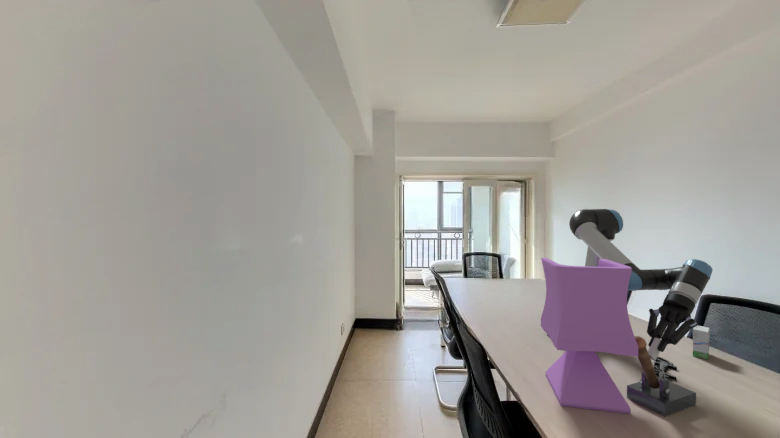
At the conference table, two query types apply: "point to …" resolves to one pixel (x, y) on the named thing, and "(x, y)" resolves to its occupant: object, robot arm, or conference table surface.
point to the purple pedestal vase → (587, 331)
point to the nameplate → (664, 368)
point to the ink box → (701, 342)
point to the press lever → (647, 363)
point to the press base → (661, 396)
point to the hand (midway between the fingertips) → (650, 357)
